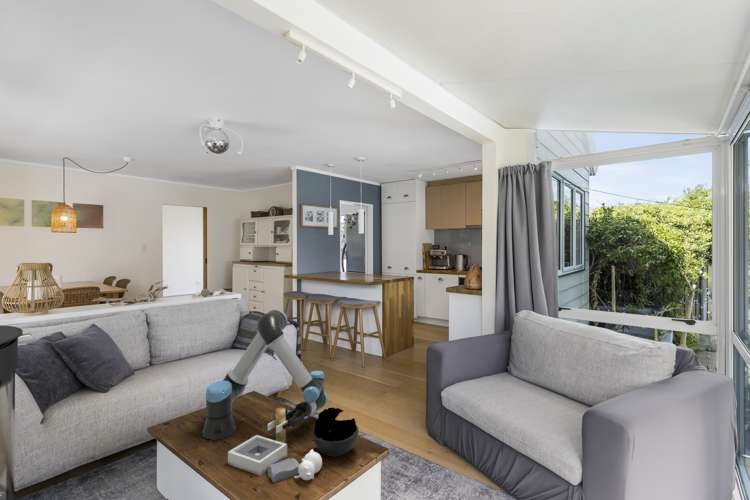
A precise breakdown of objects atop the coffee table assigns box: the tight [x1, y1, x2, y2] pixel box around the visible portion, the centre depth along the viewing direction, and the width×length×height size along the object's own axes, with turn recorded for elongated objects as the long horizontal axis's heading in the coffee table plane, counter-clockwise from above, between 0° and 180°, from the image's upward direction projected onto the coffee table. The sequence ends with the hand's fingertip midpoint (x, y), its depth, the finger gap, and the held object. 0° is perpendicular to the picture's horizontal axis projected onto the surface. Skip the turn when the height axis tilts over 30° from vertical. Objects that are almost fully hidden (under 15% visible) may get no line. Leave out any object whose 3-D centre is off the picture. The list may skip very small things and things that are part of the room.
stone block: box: [267, 457, 300, 483], centre depth 148 cm, size 12×5×10 cm
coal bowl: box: [312, 407, 360, 458], centre depth 161 cm, size 20×20×19 cm
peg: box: [275, 407, 287, 444], centre depth 169 cm, size 4×4×16 cm
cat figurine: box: [293, 448, 323, 481], centre depth 146 cm, size 9×11×12 cm
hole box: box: [227, 434, 288, 476], centre depth 157 cm, size 18×16×5 cm
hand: (272, 428), depth 165 cm, fingers closed on peg, 4 cm apart
